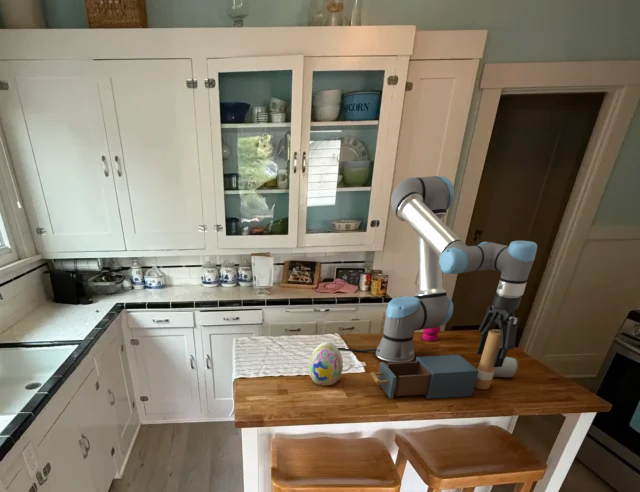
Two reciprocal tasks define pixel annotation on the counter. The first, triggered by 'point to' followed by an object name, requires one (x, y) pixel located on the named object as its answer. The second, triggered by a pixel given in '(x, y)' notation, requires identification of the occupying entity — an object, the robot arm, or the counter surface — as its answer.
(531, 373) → the counter surface
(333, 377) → the decorative egg
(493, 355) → the paper roll
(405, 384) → the drawer
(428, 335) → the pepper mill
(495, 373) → the ceramic mug
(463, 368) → the cabinet
